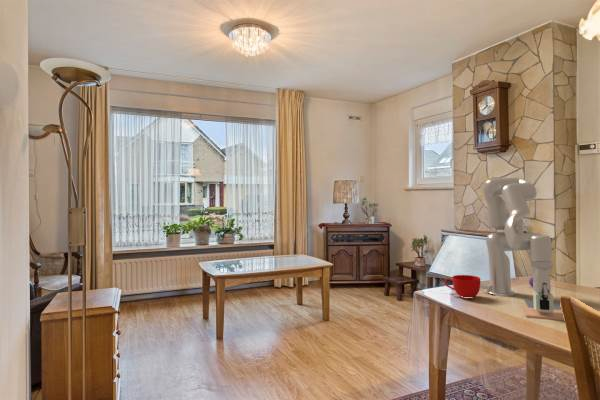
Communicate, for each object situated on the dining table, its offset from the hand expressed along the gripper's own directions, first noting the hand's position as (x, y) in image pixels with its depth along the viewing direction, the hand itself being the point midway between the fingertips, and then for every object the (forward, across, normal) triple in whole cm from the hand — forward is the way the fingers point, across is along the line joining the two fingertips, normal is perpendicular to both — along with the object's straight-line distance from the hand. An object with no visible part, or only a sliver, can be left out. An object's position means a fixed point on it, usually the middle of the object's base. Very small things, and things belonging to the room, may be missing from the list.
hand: (543, 306), depth 152 cm
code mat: (+4, -16, +4) cm, 17 cm away
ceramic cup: (+4, -21, -31) cm, 38 cm away
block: (+1, 0, 0) cm, 1 cm away
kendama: (+4, -59, +7) cm, 59 cm away
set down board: (+3, 0, 0) cm, 3 cm away
